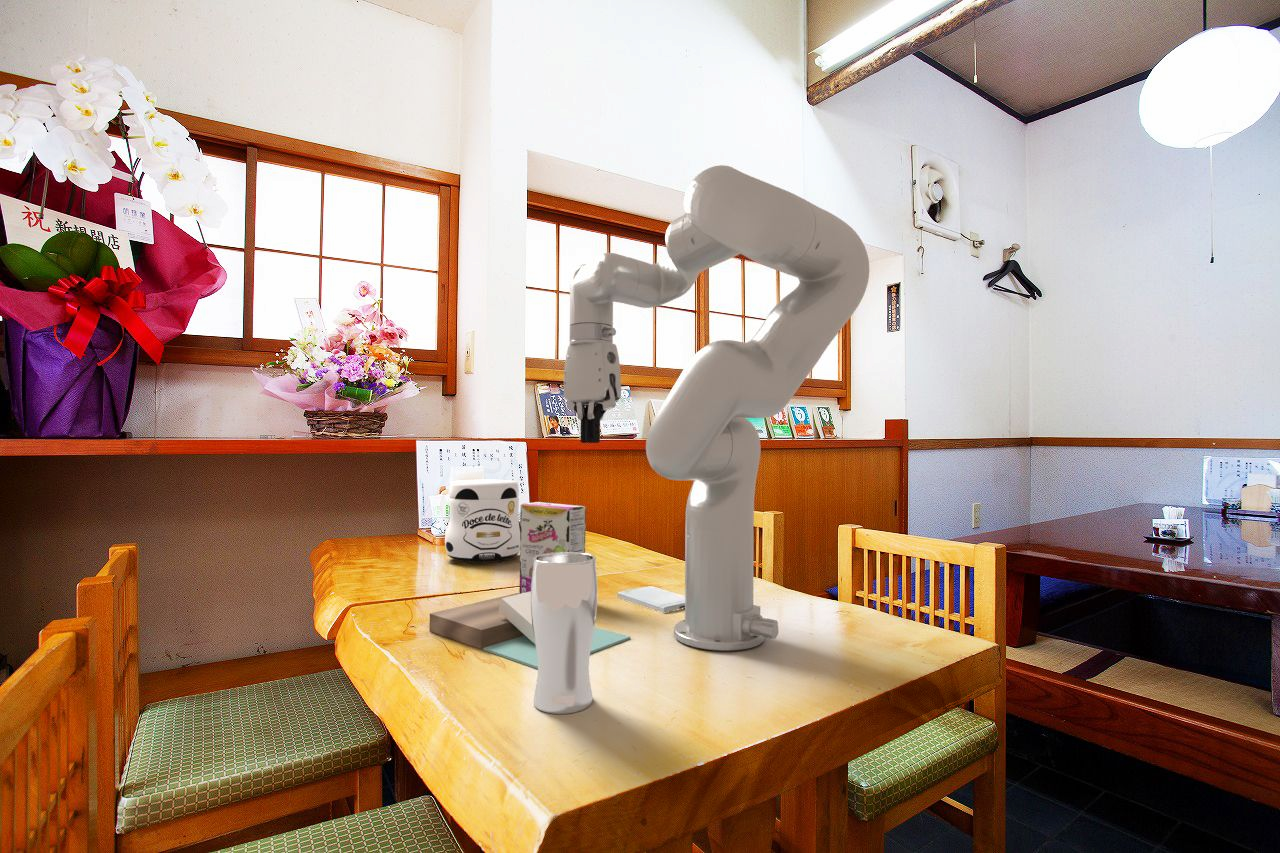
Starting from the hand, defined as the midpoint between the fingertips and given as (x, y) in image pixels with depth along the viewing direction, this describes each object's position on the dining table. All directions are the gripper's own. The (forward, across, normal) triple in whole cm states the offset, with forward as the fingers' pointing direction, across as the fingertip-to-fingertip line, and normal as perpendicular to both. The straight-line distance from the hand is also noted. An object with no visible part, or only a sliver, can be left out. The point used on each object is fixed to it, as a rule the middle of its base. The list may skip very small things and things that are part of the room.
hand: (590, 442), depth 107 cm
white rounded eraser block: (+25, -8, +20) cm, 33 cm away
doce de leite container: (+27, +44, -11) cm, 53 cm away
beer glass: (+27, -27, +32) cm, 50 cm away
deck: (+27, -1, +20) cm, 33 cm away
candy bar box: (+27, +5, +4) cm, 28 cm away
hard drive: (+28, -10, -7) cm, 30 cm away
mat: (+27, -13, +20) cm, 36 cm away
